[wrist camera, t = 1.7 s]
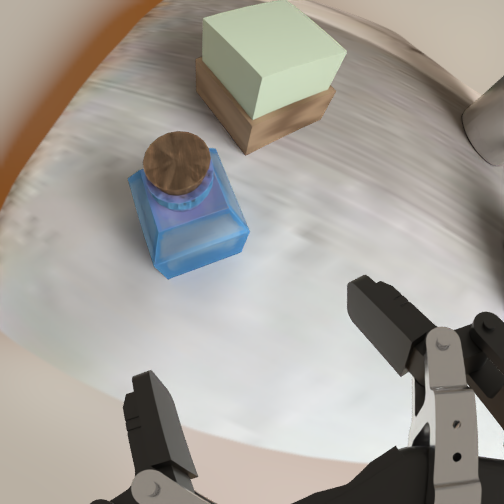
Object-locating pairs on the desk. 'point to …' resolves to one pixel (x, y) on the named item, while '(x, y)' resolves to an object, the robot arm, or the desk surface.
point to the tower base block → (265, 127)
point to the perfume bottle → (186, 205)
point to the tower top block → (269, 55)
